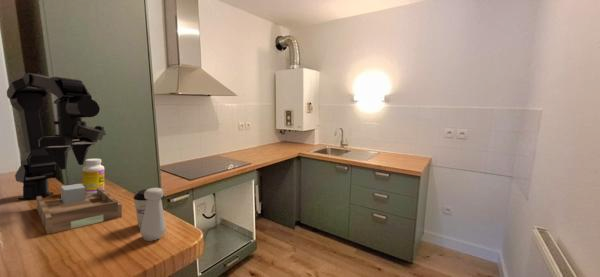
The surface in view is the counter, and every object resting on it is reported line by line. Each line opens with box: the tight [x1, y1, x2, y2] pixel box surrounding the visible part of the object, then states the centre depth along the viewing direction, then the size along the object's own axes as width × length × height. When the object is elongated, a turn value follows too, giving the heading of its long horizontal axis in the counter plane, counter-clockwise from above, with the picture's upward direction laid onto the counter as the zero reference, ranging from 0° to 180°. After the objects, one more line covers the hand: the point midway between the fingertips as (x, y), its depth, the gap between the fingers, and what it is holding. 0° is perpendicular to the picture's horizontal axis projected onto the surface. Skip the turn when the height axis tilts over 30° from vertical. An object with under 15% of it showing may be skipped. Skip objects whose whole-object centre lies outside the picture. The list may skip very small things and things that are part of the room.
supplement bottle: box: [81, 158, 105, 195], centre depth 96 cm, size 7×7×13 cm
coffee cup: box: [133, 188, 148, 229], centre depth 71 cm, size 7×7×10 cm
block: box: [60, 183, 86, 204], centre depth 81 cm, size 6×5×4 cm
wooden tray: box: [35, 187, 123, 235], centre depth 76 cm, size 24×16×5 cm, turn 51°
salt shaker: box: [139, 187, 167, 242], centre depth 64 cm, size 6×6×13 cm
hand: (72, 166), depth 79 cm, fingers open, 9 cm apart
